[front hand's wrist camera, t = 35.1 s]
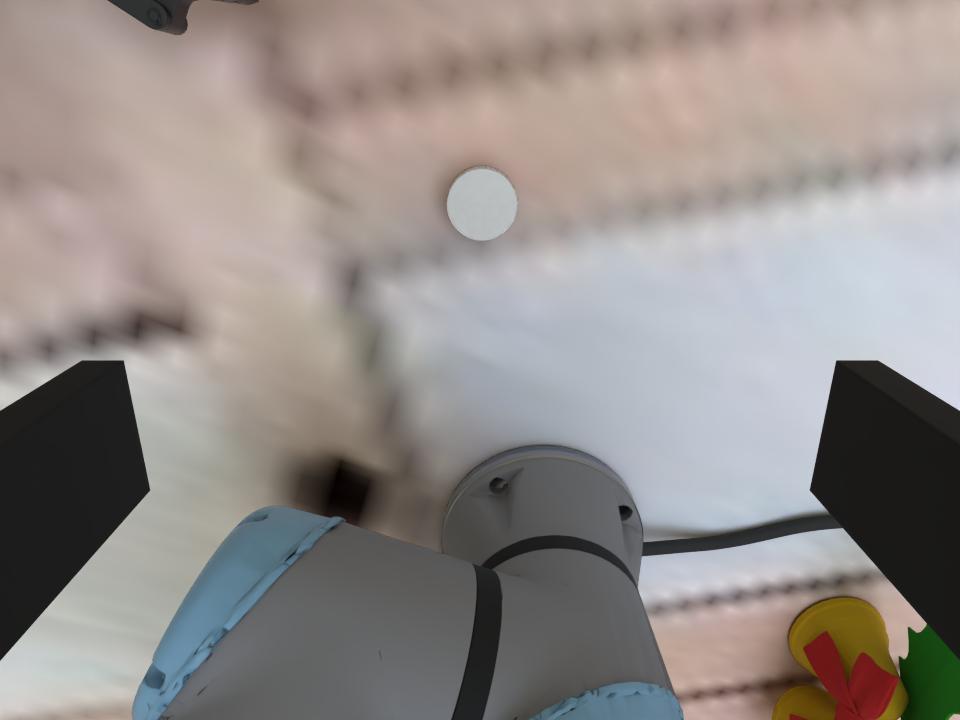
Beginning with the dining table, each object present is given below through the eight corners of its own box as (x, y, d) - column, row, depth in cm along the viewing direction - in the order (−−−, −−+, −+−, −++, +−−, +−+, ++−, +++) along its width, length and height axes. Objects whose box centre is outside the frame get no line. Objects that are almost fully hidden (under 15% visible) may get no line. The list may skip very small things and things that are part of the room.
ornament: (804, 532, 57) (868, 587, 42) (910, 560, 55) (1015, 629, 40) (747, 759, 57) (791, 892, 43) (850, 794, 56) (932, 946, 41)
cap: (529, 190, 42) (532, 194, 40) (492, 248, 43) (492, 255, 41) (471, 151, 41) (471, 153, 39) (435, 211, 43) (432, 216, 40)
